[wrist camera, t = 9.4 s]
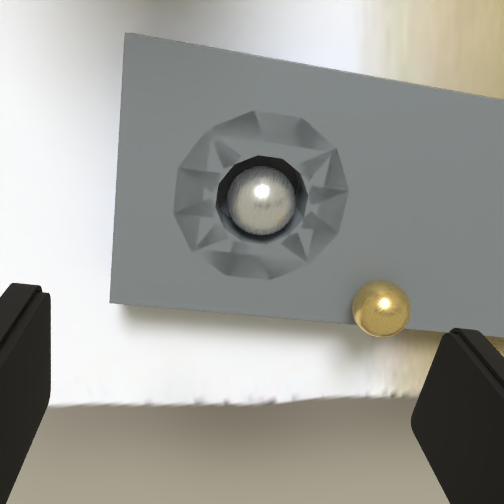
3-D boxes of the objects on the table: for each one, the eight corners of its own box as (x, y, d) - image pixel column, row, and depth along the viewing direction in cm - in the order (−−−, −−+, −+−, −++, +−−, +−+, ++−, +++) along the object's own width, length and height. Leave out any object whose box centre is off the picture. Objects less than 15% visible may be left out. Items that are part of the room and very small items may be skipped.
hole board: (612, 119, 26) (651, 127, 24) (521, 319, 32) (547, 341, 29) (132, 33, 22) (125, 32, 20) (116, 280, 27) (109, 302, 25)
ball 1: (299, 179, 22) (226, 162, 22) (282, 250, 23) (213, 232, 23) (305, 171, 25) (242, 156, 26) (290, 234, 26) (229, 218, 27)
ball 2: (404, 273, 26) (428, 300, 23) (389, 319, 27) (410, 351, 25) (352, 267, 26) (371, 294, 23) (339, 315, 27) (355, 346, 24)
